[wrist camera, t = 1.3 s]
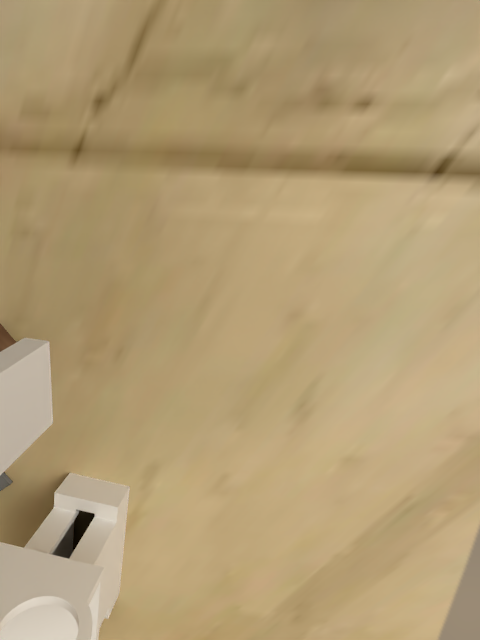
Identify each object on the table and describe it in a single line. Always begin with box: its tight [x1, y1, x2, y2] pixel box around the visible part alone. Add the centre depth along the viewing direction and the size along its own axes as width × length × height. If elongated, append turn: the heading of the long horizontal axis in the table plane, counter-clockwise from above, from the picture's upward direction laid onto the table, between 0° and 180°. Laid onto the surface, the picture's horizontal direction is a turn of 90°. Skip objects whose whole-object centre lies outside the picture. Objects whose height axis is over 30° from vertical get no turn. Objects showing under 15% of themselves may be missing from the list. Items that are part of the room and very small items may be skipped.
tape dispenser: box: [0, 473, 130, 640], centre depth 36 cm, size 14×13×18 cm
